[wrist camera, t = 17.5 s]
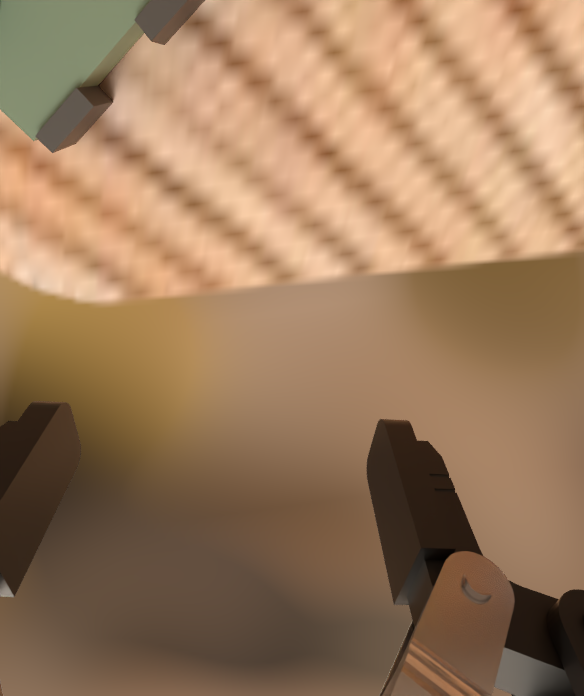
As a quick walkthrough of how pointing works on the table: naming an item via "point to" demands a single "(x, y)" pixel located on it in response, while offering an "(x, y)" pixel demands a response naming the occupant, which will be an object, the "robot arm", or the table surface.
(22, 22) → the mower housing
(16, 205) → the table surface
